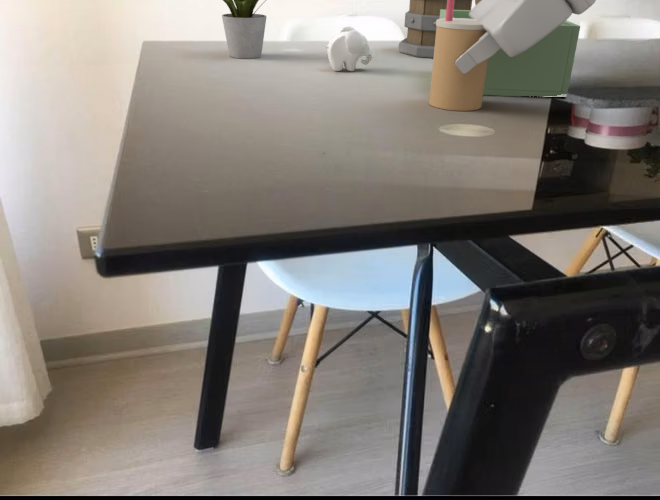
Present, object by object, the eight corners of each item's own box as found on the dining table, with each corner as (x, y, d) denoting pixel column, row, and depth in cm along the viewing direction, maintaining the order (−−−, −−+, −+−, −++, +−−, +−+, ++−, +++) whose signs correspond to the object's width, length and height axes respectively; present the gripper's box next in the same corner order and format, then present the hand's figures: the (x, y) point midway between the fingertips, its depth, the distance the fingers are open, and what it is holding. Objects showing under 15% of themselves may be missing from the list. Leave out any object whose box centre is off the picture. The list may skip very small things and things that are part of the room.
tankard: (386, 49, 114) (392, -43, 107) (441, 45, 119) (450, -42, 113) (458, 68, 98) (470, -38, 91) (518, 63, 104) (533, -37, 97)
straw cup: (478, 99, 78) (494, -23, 72) (486, 112, 73) (504, -20, 66) (426, 97, 79) (438, -25, 73) (430, 109, 73) (443, -22, 67)
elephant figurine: (377, 74, 92) (379, 31, 89) (322, 74, 91) (323, 30, 88) (368, 65, 98) (371, 25, 95) (317, 65, 97) (318, 24, 94)
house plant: (304, 63, 98) (305, -53, 91) (215, 66, 94) (209, -56, 87) (280, 49, 110) (279, -55, 103) (200, 51, 106) (194, -57, 99)
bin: (538, 75, 94) (549, 13, 91) (566, 98, 80) (580, 25, 77) (434, 71, 95) (440, 9, 91) (443, 93, 81) (451, 21, 77)
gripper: (518, -51, 77) (430, 30, 82) (562, -49, 59) (445, 55, 64) (549, -10, 79) (461, 67, 84) (600, 4, 61) (484, 102, 65)
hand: (454, 62), depth 73 cm, fingers closed on straw cup, 6 cm apart
